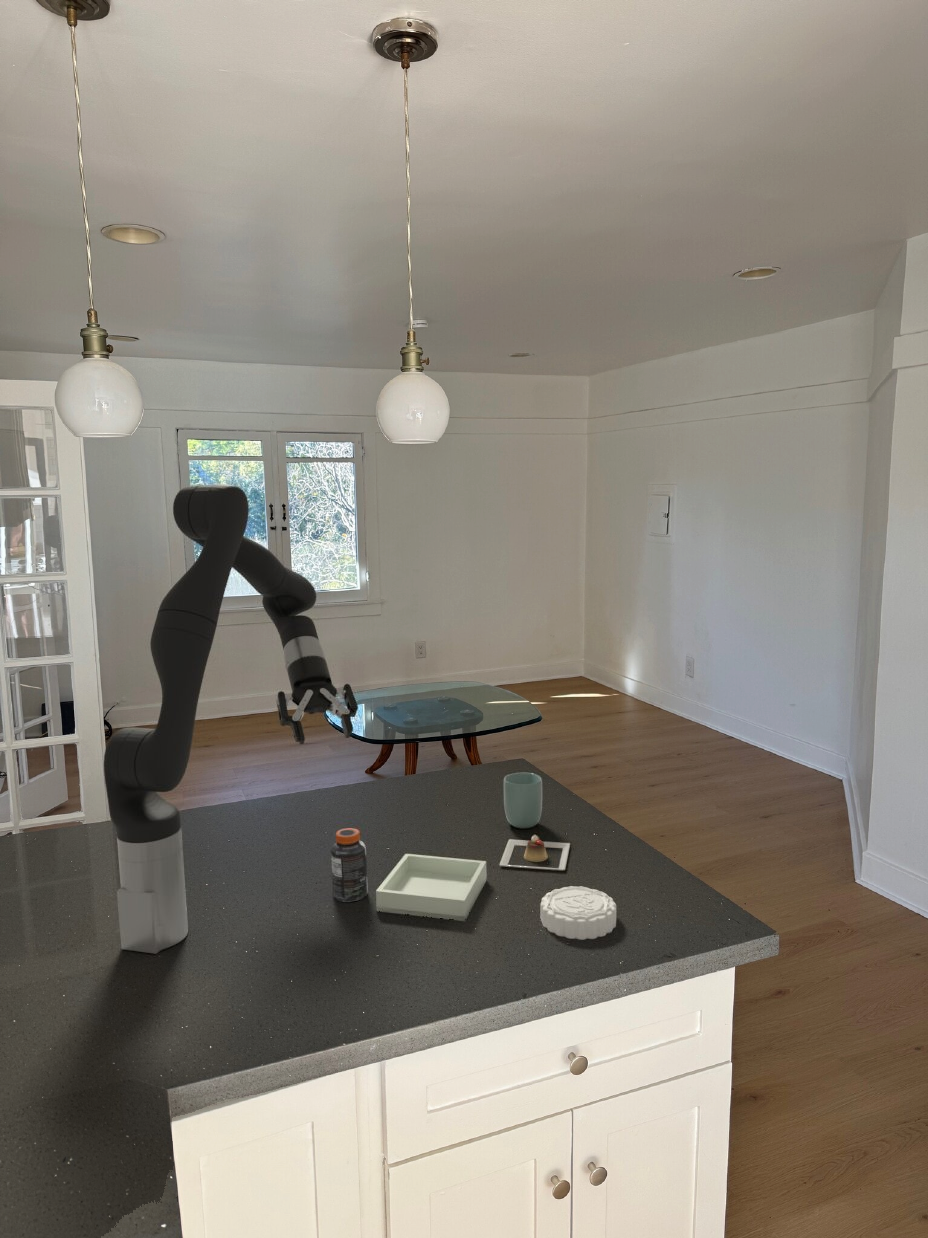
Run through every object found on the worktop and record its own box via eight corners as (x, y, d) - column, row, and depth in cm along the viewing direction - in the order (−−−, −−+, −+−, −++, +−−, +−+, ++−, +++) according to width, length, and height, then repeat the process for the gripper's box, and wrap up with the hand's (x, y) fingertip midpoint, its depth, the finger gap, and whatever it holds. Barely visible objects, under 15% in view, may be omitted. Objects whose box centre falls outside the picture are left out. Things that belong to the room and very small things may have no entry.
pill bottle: (371, 887, 145) (368, 825, 143) (363, 903, 139) (361, 839, 137) (337, 886, 145) (335, 824, 144) (328, 902, 139) (326, 838, 138)
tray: (464, 921, 132) (464, 900, 132) (376, 911, 136) (375, 891, 135) (486, 880, 146) (486, 861, 146) (406, 872, 150) (405, 853, 150)
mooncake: (557, 946, 125) (557, 924, 124) (529, 909, 136) (529, 889, 136) (629, 934, 128) (629, 912, 127) (597, 899, 139) (597, 879, 139)
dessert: (565, 875, 149) (565, 850, 148) (499, 871, 151) (498, 846, 151) (570, 848, 161) (570, 825, 160) (508, 844, 163) (508, 821, 162)
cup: (497, 822, 173) (497, 775, 172) (530, 815, 177) (530, 770, 175) (515, 835, 166) (515, 787, 165) (549, 828, 170) (548, 781, 168)
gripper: (271, 657, 152) (289, 733, 143) (346, 650, 158) (367, 723, 149) (266, 680, 158) (283, 755, 149) (339, 672, 164) (359, 744, 155)
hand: (325, 739), depth 149 cm, fingers open, 8 cm apart
